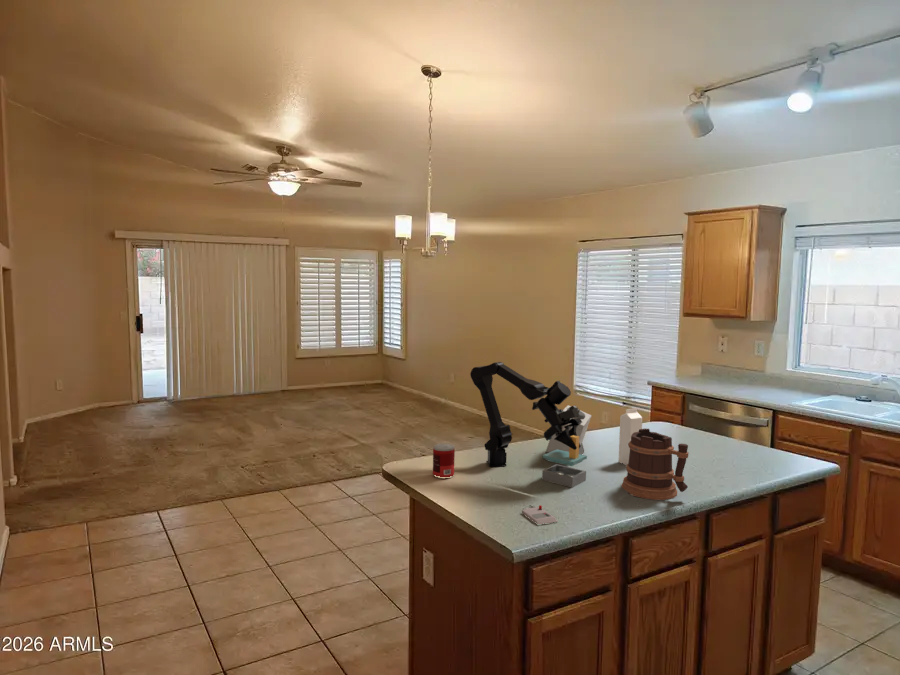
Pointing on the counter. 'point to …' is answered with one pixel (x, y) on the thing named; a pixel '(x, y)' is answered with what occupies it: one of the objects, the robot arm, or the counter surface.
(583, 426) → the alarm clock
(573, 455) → the lid
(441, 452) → the canned food
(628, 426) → the milk
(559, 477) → the tub
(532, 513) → the electrical control box
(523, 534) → the counter surface
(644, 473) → the mug
